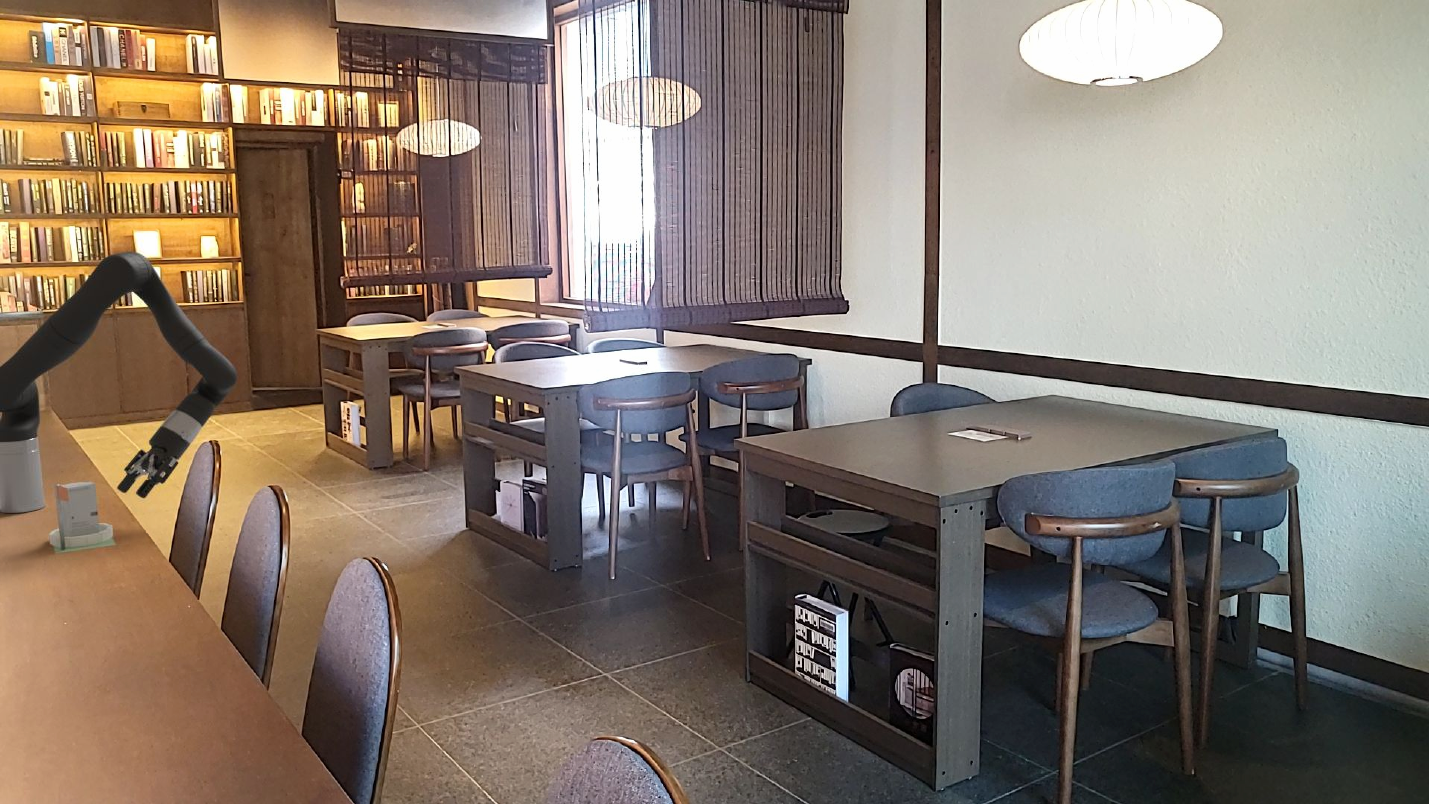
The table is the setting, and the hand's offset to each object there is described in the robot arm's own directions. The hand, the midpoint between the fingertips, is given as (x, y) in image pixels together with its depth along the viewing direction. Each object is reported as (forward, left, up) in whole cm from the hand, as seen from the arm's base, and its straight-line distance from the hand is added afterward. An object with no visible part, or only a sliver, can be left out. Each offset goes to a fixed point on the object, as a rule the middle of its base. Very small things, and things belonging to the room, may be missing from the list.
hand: (130, 493), depth 246 cm
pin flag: (+7, -17, -8) cm, 20 cm away
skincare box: (0, -11, -8) cm, 13 cm away
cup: (0, -11, -8) cm, 13 cm away
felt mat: (0, -11, -8) cm, 14 cm away
